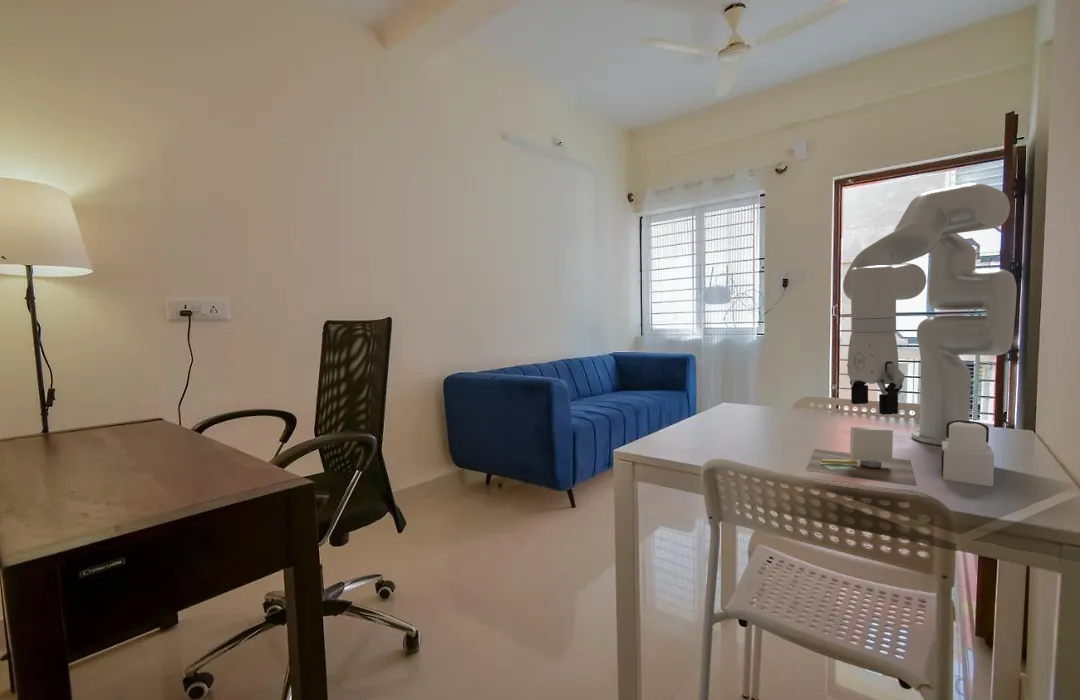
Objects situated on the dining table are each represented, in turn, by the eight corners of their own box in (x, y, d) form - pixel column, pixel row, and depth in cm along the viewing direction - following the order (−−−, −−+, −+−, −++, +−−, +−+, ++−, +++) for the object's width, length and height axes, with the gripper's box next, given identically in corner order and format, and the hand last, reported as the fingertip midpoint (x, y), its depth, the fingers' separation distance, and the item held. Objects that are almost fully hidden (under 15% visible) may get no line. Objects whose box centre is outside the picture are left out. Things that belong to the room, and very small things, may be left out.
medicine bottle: (940, 474, 96) (942, 416, 95) (989, 481, 91) (991, 420, 91) (941, 485, 90) (943, 423, 90) (993, 493, 86) (995, 428, 85)
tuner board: (814, 453, 112) (814, 448, 112) (910, 465, 102) (910, 459, 102) (805, 475, 98) (805, 469, 98) (916, 492, 87) (916, 485, 87)
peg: (894, 470, 96) (894, 431, 95) (825, 466, 99) (825, 429, 99) (886, 464, 99) (887, 427, 99) (819, 461, 103) (820, 425, 102)
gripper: (831, 326, 106) (832, 401, 107) (880, 330, 89) (880, 419, 90) (867, 323, 105) (867, 399, 107) (922, 327, 88) (922, 417, 89)
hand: (873, 408), depth 98 cm, fingers open, 9 cm apart
